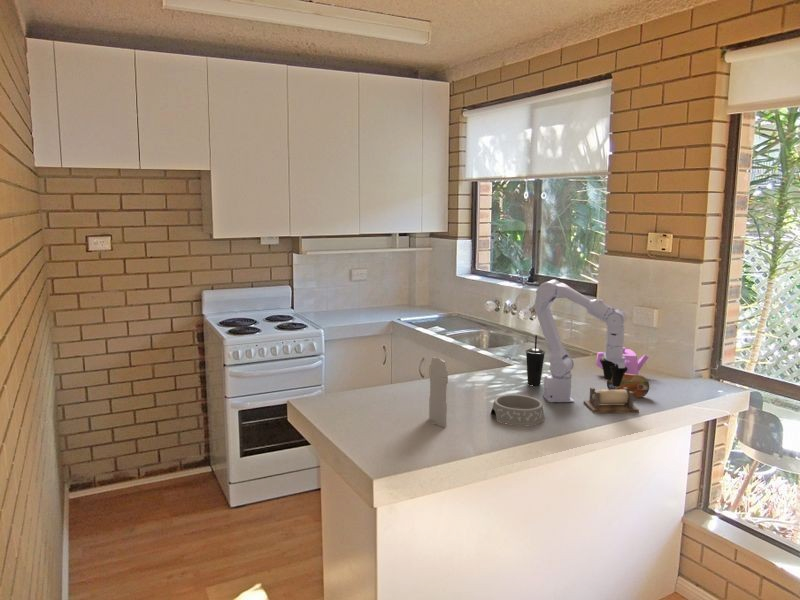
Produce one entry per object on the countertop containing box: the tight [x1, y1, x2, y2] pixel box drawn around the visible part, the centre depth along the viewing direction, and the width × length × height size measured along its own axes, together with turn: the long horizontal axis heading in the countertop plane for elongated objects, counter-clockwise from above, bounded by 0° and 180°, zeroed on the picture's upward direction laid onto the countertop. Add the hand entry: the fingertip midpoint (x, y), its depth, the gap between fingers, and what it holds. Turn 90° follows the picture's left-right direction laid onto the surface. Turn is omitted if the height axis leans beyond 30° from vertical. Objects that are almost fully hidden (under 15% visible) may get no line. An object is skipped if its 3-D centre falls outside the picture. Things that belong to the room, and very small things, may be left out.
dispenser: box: [428, 356, 449, 428], centre depth 200 cm, size 11×4×22 cm, turn 28°
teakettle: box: [595, 346, 650, 375], centre depth 257 cm, size 17×17×12 cm
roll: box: [592, 389, 628, 404], centre depth 218 cm, size 13×5×5 cm, turn 93°
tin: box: [606, 373, 650, 399], centre depth 232 cm, size 15×3×8 cm, turn 62°
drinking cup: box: [525, 334, 546, 387], centre depth 243 cm, size 8×8×20 cm
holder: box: [583, 387, 640, 414], centre depth 218 cm, size 16×10×6 cm, turn 93°
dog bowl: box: [490, 394, 546, 427], centre depth 209 cm, size 17×18×5 cm
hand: (612, 382), depth 217 cm, fingers open, 7 cm apart
